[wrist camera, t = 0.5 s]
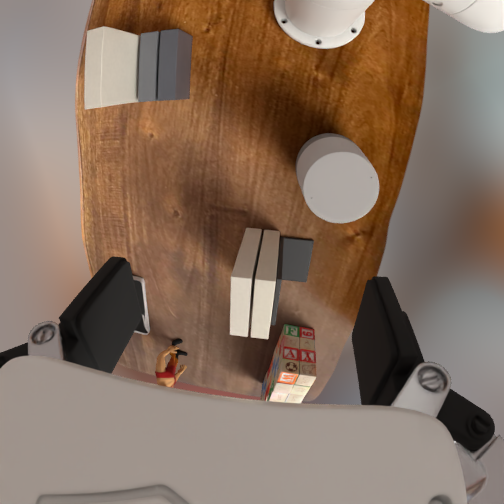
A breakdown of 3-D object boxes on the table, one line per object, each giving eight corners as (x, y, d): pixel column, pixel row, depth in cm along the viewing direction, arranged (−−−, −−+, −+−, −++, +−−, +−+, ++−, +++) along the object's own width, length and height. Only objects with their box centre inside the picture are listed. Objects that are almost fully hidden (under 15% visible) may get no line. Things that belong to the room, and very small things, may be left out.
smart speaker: (346, 122, 38) (371, 134, 26) (366, 179, 42) (395, 215, 30) (285, 144, 41) (283, 165, 29) (308, 199, 45) (315, 242, 33)
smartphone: (141, 281, 55) (148, 335, 62) (144, 277, 56) (150, 331, 64) (108, 274, 55) (118, 327, 63) (111, 270, 56) (121, 323, 64)
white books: (246, 227, 48) (230, 276, 36) (314, 234, 48) (321, 286, 35) (243, 278, 53) (229, 334, 41) (305, 285, 53) (307, 343, 40)
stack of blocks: (287, 388, 68) (284, 430, 57) (262, 383, 68) (256, 426, 57) (314, 328, 57) (317, 377, 47) (284, 323, 57) (281, 372, 47)
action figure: (192, 360, 67) (174, 412, 54) (178, 359, 67) (159, 410, 54) (181, 332, 62) (159, 386, 49) (166, 331, 63) (142, 384, 50)
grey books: (122, 45, 35) (101, 41, 30) (192, 36, 34) (178, 28, 29) (120, 103, 40) (99, 106, 35) (189, 98, 39) (175, 99, 34)
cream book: (139, 42, 35) (86, 30, 23) (154, 40, 35) (104, 25, 22) (137, 101, 40) (84, 109, 28) (151, 100, 40) (101, 107, 27)
